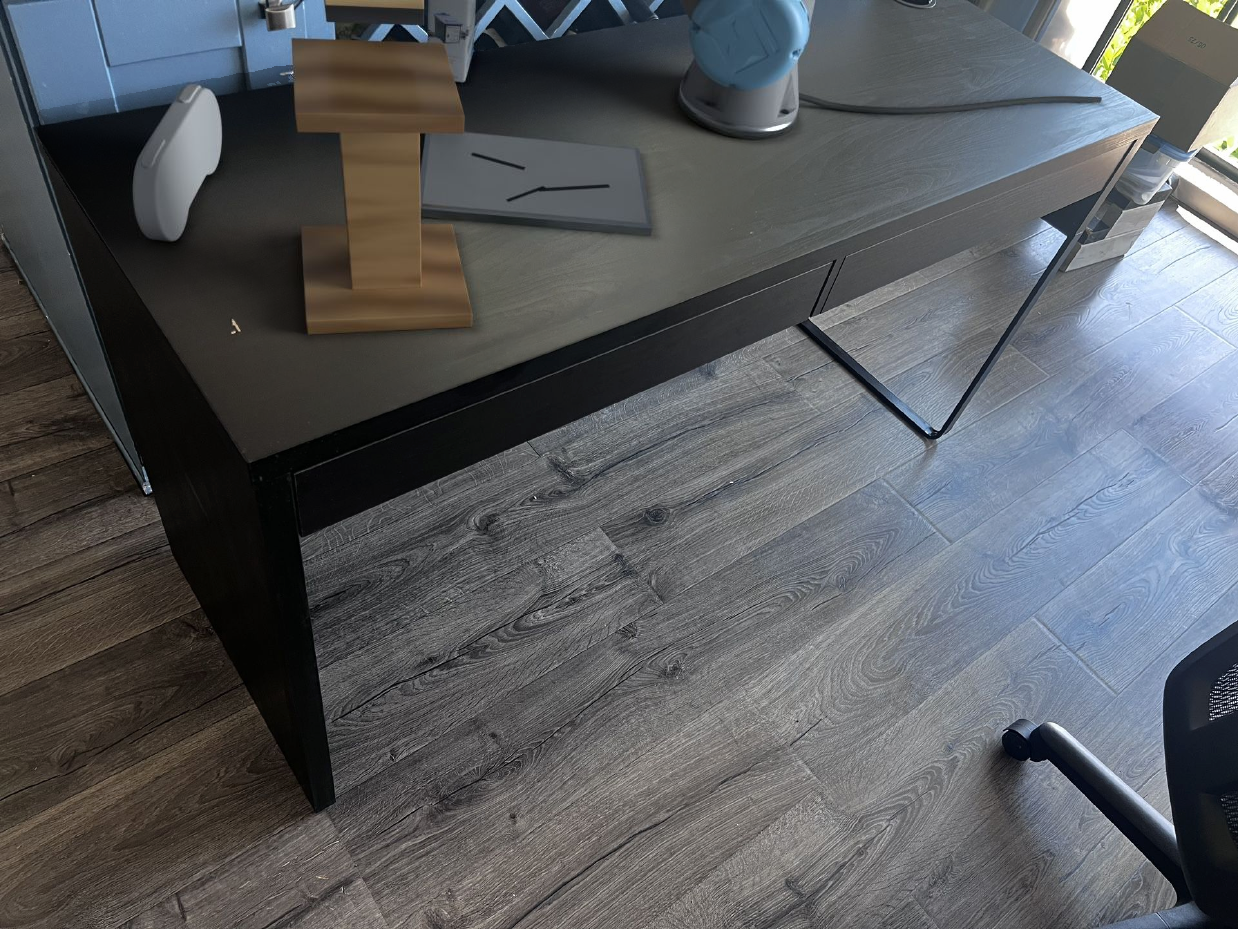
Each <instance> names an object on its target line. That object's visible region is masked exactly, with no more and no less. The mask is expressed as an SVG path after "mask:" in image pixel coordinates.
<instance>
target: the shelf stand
mask: <svg viewBox="0 0 1238 929" xmlns="http://www.w3.org/2000/svg"><path fill="white" fill-rule="evenodd" d="M291 54H292V56H291V57H292V73H293V75H292V76H293V78H292V80H293V94H294V95H293V96H294V99H293V100H294V115H295V123H296V124H295V125H296V132H297V133H335V134H337V133H338V139H339V141H338V142H339V150H340V151H339V154H340V166H341V167H340V168H341V177H342V178H341V179H342V190H343V203H344V215H345V225H342V224H341V225H301V227H300V229H301V253H302V268H303V269H302V270H303V271H302V272H303V291H304V292H303V293H304V309H305V311H304V312H305V325H306V333H307V335H325V334H326V335H327V334H347V333H366V332H367V333H371V332H390V331H392V332H393V331H410V330H412V331H413V330H414V331H415V330H433V329H435V330H437V329H454V328H455V329H456V328H472V327H473V310H472V306H471V301H470V298H469V297H470V296H469V292H468V289H467V284H466V280H465V275H464V271H463V266H462V262H461V258H460V253H459V249H458V244H457V239H456V236H455V231H454V228H453V224H452V223H422V222H421V221H422V220H421V219H422V217H421V209H420V172H421V136H420V134H425V133H444V134H464V132H465V113H464V109H463V105H462V101H461V99H460V95H459V90H458V87H457V84H456V81H455V80H454V76H453V73H452V69H451V66H450V62H449V58H448V55H447V51H446V48H445V44H444V43H427V42H419V41H418V42H417V41H394V40H393V41H392V40H391V41H387V40H363V39H360V40H359V39H356V40H355V39H334V38H333V39H330V38H304V37H303V38H302V37H292V38H291Z"/></svg>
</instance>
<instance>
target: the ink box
mask: <svg viewBox="0 0 1238 929" xmlns="http://www.w3.org/2000/svg"><path fill="white" fill-rule="evenodd" d="M427 4H428V5H427V42H426V43H444V44H445V48H446V51H447V55H448V58H449V62H450V66H451V69H452V73H453V76H454V80H455V82H459V83H464V82H466V79H467V76H468V72H469V69H470V65H471V62H472V58H473V55H474V44H475V28H476V27H475V25H476V5H477V0H428V2H427Z"/></svg>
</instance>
